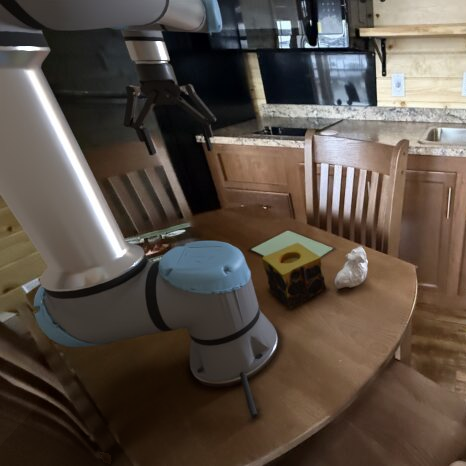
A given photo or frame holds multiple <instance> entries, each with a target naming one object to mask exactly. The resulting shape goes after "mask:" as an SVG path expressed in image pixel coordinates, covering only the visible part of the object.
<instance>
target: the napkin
mask: <svg viewBox="0 0 466 466" xmlns="http://www.w3.org/2000/svg"><path fill="white" fill-rule="evenodd" d="M295 243H300V244H301V245H303V246H304V247H305V248H307V249H309V250H310V251H312V252H314V253H315V254H317V255H318V256H320V258H322V257H323V256H324V255H326V254H327V253H330V252H331V251H332V250H333V249H334V247H332V246H329V245H326V244H324V243H322V242H319V241H316V240H314V239H311V238H308V237H306V236H303V235H301V234H298V233H296V232H294V231H291V230H286V231H283V232H282V233H279V234H278V235H275V236H274V237H272V238H270V239H268V240H266V241H264V242H262V243H260V244H258V245H256V246H254V247H252V248H250V251H252V252H254V253H257V254H258V255H261V256H262V257H264V256H267V255H269V254H271V253H274V252H277V251H279V250H281V249H284V248H286V247H288V246H291V245H293V244H295Z"/></svg>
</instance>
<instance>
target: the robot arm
mask: <svg viewBox="0 0 466 466" xmlns="http://www.w3.org/2000/svg"><path fill="white" fill-rule="evenodd" d="M220 10H221V9H220V6H219V3H218V0H0V197H1V198H2V200H3V201H4V202H5V204H6V206H7V207H8V208H9V210H10V211H11V213H12V215H13V216H14V218H15V219H16V220H17V222H18V224H19V225H20V227H21V228H22V230H23V231H24V233H25V234H26V236H27V237H28V239H29V240H30V242H31V243H32V245H33V246H34V248H35V249H36V251H37V252H38V254H39V255H40V257H41V258H42V260H43V261H44V263H45V264H46V265H47V267H46V269H45V270H44V272H43V273H42V274H41V276H40V277H39V282H40V286H39V287H38V289H37V291H36V293H35V295H34V299H33V307H34V308H35V309H37V312H36V313H35V314H34V318H35V321H36V323H37V325H38V327H39V329H40V330H41V331H42V332H43V334H44V335H46V337H48V338H49V339H50V340H52V341H53V342H55V343H57V344H59V345H62V346H64V347H68V348H85V347H93V346H97V347H98V346H99V347H100V346H103V345H110V344H113V343H116V342H118V341H119V342H120V341H125V340H129V339H134V338H139V337H145V336H150V335H155V334H161V333H165V332H170V331H176V330H180V329H186V331H187V333H188V336H189V337H190V345H189V367H190V371H191V372H192V375H193V377H194V378H195V380H196V381H197V382H198V383H200V384H202V385H203V386H206V387H209V388H227V387H233V386H236V385H239V384H242V388H243V392H244V395H245V400H246V402H247V406H248V410H249V413H250V417H251V418H252V419H255V418H257V417H258V411H257V408H256V405H255V404H256V403H255V400H254V398H253V394H252V390H251V387H250V384H249V380H250V379H252V378H254V377H255V376H257V375H258V374H259V373H260V372H262V371H263V370H264V369H265V368H266V367H267V366H268V365H269V364H270V362H271V361H272V360H273V359H274V358H275V355H276V354H277V351H278V347H279V337H278V333H277V330H276V328H275V326H274V325H273V323H271V321H270V320H269V319H268V318H267V316H266V315H265V314H264V313H263V312H262V311H261V309H260V306H259V302H258V298H257V295H256V291H255V287H254V284H253V280H252V273H251V270H250V267H249V266H248V264H247V261H246V257H245V255H244V254H243V252H242V251H241V250H240V249H239V248H238V247H236V246H234V245H232V244H230V243H228V242H225V241H219V240H198V241H191V242H186V243H184V245H181V246H180V245H178V246H175V247H172V248H171V249H169V250H168V251H167V252H165V253H164V254H163V255H162V256H161V258H160V259H159V260H153V261H150V260H149V258H148V256H147V254H146V252H145V250H144V248H142V246H141V245H138V244H136V243H131V242H128V241H127V240H126V238H125V236H124V235H123V233H122V231H121V228H120V226H119V225H118V222H117V220H116V218H115V216H114V214H113V213H112V210H111V208H110V206H109V204H108V202H107V200H106V198H105V196H104V194H103V192H102V190H101V188H100V186H99V184H98V182H97V179H96V178H95V176H94V173H93V171H92V170H91V167H90V165H89V164H88V162H87V161H88V160H87V159H86V157H85V155H84V153H83V151H82V149H81V147H80V145H79V142H78V140H77V139H76V137H75V135H74V133H73V131H72V129H71V126H70V124H69V123H68V120H67V118H66V116H65V115H64V112H63V111H62V108H61V106H60V104H59V102H58V100H57V98H56V96H55V94H54V92H53V90H52V88H51V86H50V84H49V82H48V80H47V77H46V76H45V74H44V72H43V70H42V65H43V62H44V61H45V60H46V58H47V57H48V55H49V54H50V52H51V48H50V46H49V43H48V42H47V40H46V37H45V35H44V33H43V31H50V32H56V31H57V32H58V31H87V30H98V29H106V28H109V29H111V30H114V31H119V30H120V32H121V35H122V38H123V40H124V43H125V45H126V48H127V51H128V54H129V57H130V60H131V61H132V62H135V64H133V68H134V71H135V74H136V76H137V79H138V82H139V84H140V85H139V86H135V85H132V84H131V85H126V86H125V91H126V92H125V93H126V95H127V98H126V105H125V111H124V117H123V126H124V127H125V128H131V129H134V130H135V132H136V135H137V138H138V140H139V141H140V142H141V143H144V144H145V147H146V150H147V152H148V155H149V156H154V155H155V154H157V150H156V148H155V145H154V142H153V140H152V136H151V135H150V134H151V133H150V131H149V129H148V127H144V126H145V123H146V121H147V119H148V118H149V115H150V114H151V112H152V110H153V108H154V107H155V106H156V105H157V106H164V105H167V106H173V105H175V104H176V105H177V106H178V107H181V109H183V110H184V111H185V112H187V113H188V114H189V115H191V116H192V117H193V118H194V119H195V120H197V121H198V122H199V123H200V124H201V126H200V129H201V133H202V136H203V139H204V143H205V146H206V150H207V152H212V150H213V145H212V141H211V139H212V138H213V136H214V133H213V129H212V127H211V125H212V124H214V123H215V122H217V118H216V116H215V115H214V113H213V112H212V111H211V110H210V109H209V107H208V106H207V105H206V104H205V102H204V101H203V100H202V99H201V98H200V97H199V95H198V94H197V92H196V91H195V88H194V86H193V84H191V83H187V84H186V85H180V84H179V83H178V81H177V77H176V74H175V71H174V68H173V65H171V63H169V62H170V61H171V59H170V56H169V52H168V48H167V45H166V42H165V40H164V35H163V33H162V32H179V33H180V32H181V33H182V32H183V33H184V32H185V33H202V34H203V33H204V34H210V33H220V32H221V31H222V30H223V19H222V14H221V11H220ZM182 92H183V93H184V94H185V95H187V96H189V98H190V100H192V101H193V103H194V104H195V105H196V106H197V107H198V109H199V110H200V111H201V112H202V113H201V112H199V111H198V110H196V108H194V106H191V105H190V104H189V103H188V102H187V101H186V100H185V99H184V98H183V97H181V93H182ZM140 94H142V95H144V97H146V100H145V102H144V105H143V107H142V109H141V110H140V112H139V113H138V116H137V118H136V120H135V117H136V111H137V105H138V97H139V96H140Z"/></svg>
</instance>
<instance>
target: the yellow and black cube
mask: <svg viewBox="0 0 466 466" xmlns="http://www.w3.org/2000/svg"><path fill="white" fill-rule="evenodd" d="M261 260H262V264H263V268H264V270H265V274H266V278H267V284H268V287H269V289H270V291H271V292H272V293H273V295H274V296H275V297H277V298H278V300H280V301H281V302H282V303H283V304H284V305H285V306H287V308H288V309H293V308H295V307H296V306H298V305H300V304H303V303H304V302H306V301H308V300H310V299H311V298H313V297H314V296H315V295H318V294H320V293H321V292H324V291H326V290H327V287H326V282H325V276H324V274H323V272H322V257H320V256H318V255H317V254H315V253H314V252H312V251H310V250H309V249H307V248H305V247H304V246H303V245H301V244H300V243H295V244H293V245H291V246H288V247H286V248H284V249H281V250H279V251H277V252H274V253H271V254H269V255H267V256H262V258H261Z"/></svg>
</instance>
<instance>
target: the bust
mask: <svg viewBox="0 0 466 466" xmlns="http://www.w3.org/2000/svg"><path fill="white" fill-rule="evenodd" d="M344 258H345V259H346V260H347V261H346V262H345V263H344V265H343V266H342V269H341V270H339V271H338V272H337V274H336V276H335V279H334V286H335V288H336V289H339V290H340V289H344V288H354V287H357V286H359V285H361V284H363V282H364V281H365V280H366V278H367V275H368V264H369V260H368V259H367V253H366V251H365V249H364V248H363V246H362V245H361V246H358V247H356V248H353V249H351V252H349V253H347V254H345V256H344Z"/></svg>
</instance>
